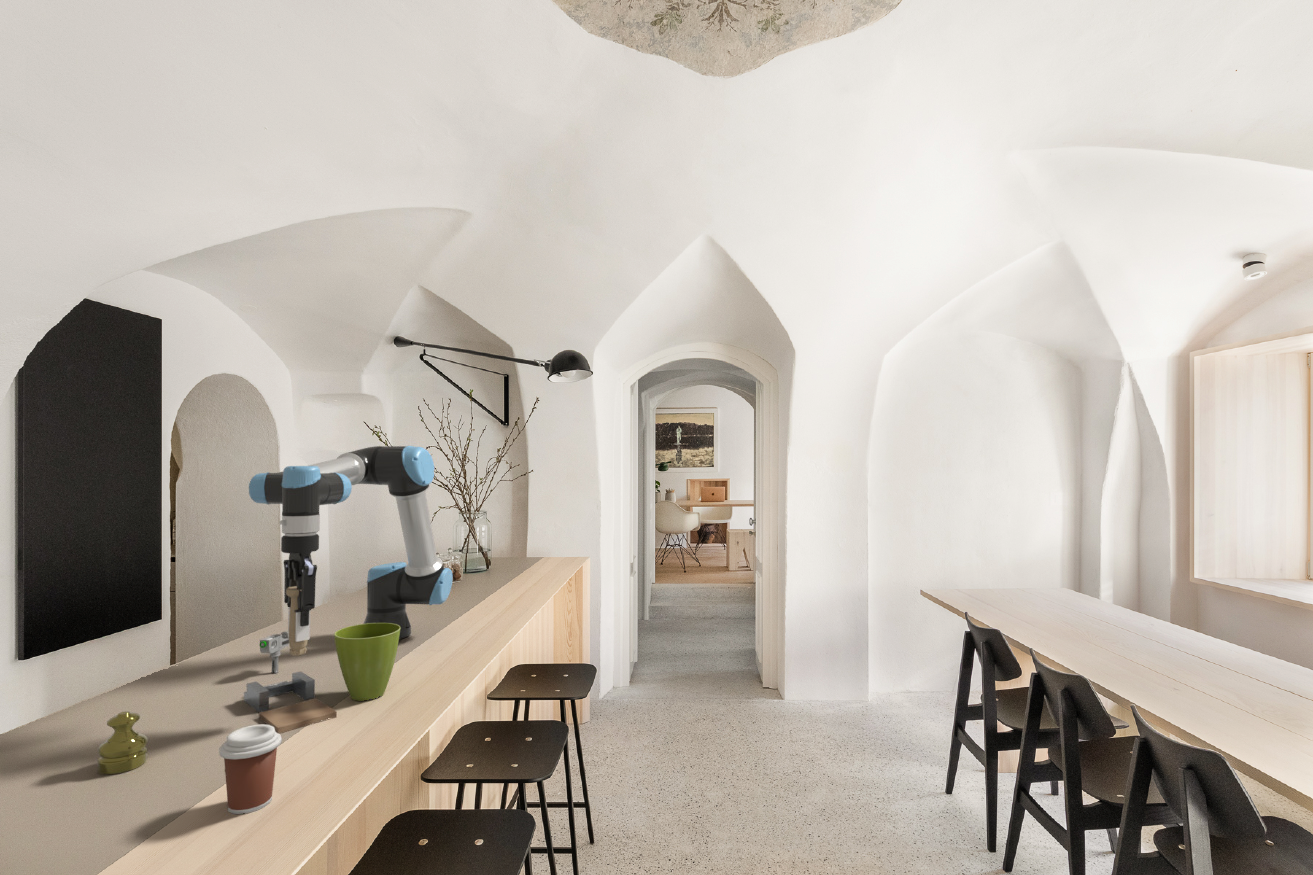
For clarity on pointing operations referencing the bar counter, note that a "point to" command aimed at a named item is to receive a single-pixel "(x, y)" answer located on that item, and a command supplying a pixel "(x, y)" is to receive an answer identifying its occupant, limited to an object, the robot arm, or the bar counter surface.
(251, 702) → the vise
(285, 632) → the mechanical component
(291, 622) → the handle
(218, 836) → the bar counter surface
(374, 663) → the flower pot
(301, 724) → the walnut board
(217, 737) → the bar counter surface
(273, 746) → the coffee cup
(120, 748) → the olive glossy bulbous piece
